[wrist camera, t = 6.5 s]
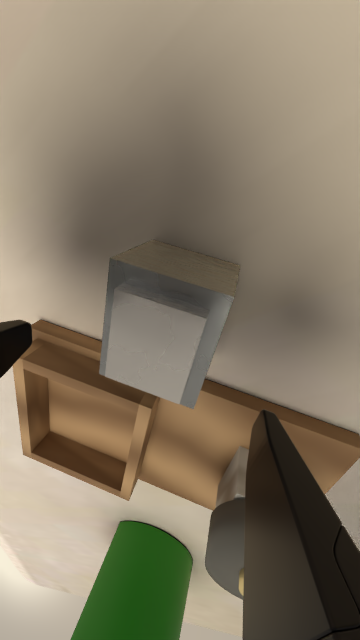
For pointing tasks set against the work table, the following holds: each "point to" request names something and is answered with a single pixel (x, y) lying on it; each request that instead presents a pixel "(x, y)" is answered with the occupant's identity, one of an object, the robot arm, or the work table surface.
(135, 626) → the motor
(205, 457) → the wooden tray
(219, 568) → the grey knob
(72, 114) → the work table surface
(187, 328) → the stepped grey block
